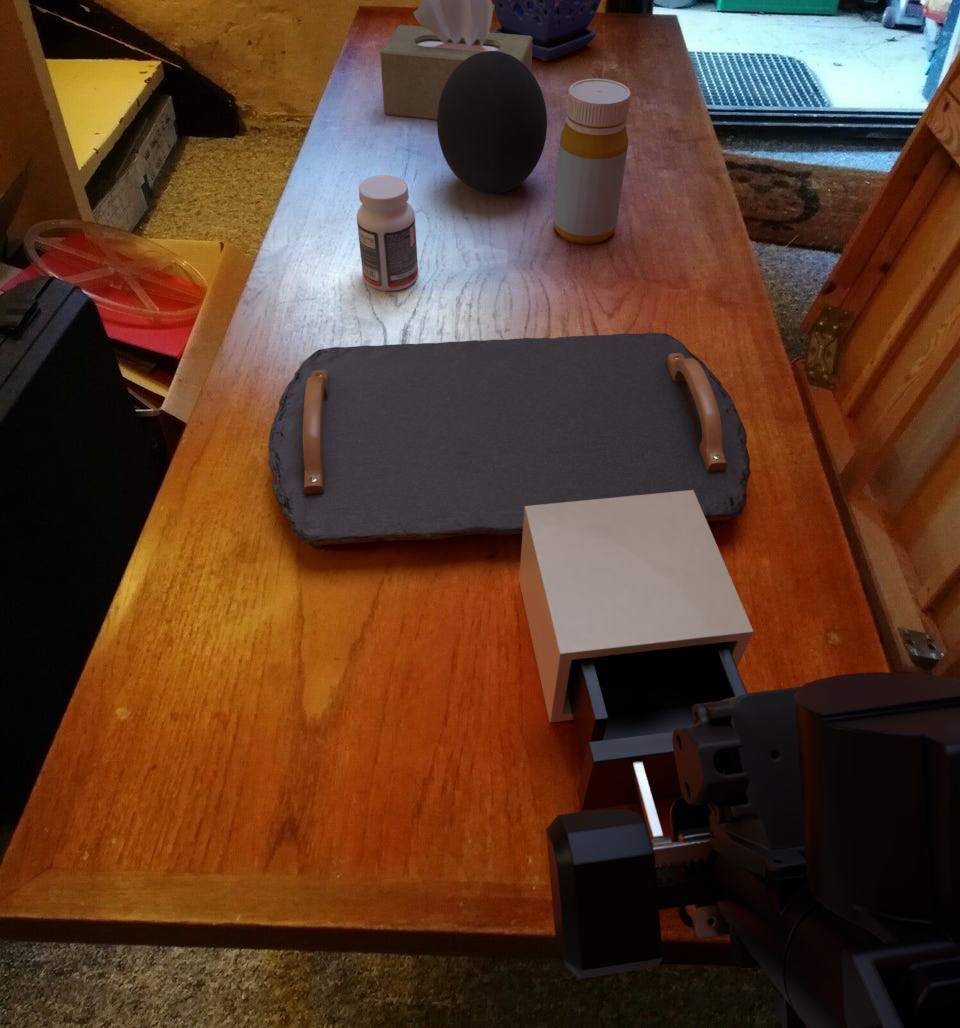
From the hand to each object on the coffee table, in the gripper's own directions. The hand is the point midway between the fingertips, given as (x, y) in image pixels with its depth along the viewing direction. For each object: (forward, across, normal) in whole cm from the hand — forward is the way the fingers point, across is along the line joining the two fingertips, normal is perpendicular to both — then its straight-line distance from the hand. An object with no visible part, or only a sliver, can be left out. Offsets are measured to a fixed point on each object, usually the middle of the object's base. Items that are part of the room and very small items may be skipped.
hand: (698, 794), depth 45 cm
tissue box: (+77, 0, -67) cm, 102 cm away
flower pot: (+91, -16, -81) cm, 123 cm away
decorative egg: (+60, -1, -51) cm, 79 cm away
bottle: (+53, -10, -43) cm, 69 cm away
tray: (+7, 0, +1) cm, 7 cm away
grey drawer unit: (+15, 0, -5) cm, 16 cm away
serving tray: (+29, +4, -19) cm, 35 cm away
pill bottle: (+48, +12, -38) cm, 63 cm away
